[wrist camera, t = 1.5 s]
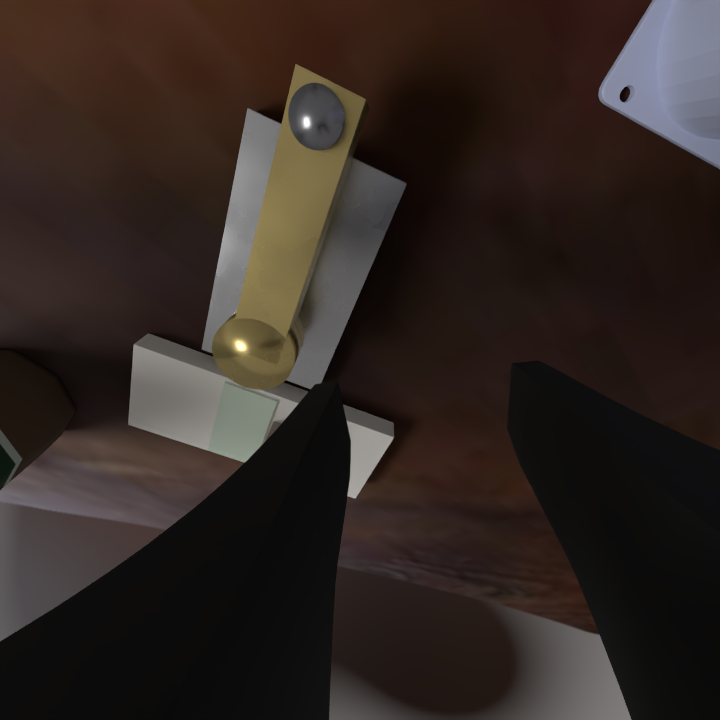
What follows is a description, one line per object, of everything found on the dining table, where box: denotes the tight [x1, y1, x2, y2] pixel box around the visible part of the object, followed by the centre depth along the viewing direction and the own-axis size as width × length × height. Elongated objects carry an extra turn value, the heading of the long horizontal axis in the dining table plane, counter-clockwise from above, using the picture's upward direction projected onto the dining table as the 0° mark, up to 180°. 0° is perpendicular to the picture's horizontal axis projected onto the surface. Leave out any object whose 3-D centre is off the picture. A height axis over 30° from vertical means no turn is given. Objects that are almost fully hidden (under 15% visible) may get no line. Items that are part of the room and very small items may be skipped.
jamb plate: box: [202, 109, 407, 389], centre depth 17 cm, size 7×12×2 cm, turn 158°
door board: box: [128, 333, 394, 498], centre depth 22 cm, size 16×6×4 cm, turn 68°
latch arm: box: [212, 64, 369, 390], centre depth 14 cm, size 4×12×3 cm, turn 158°
